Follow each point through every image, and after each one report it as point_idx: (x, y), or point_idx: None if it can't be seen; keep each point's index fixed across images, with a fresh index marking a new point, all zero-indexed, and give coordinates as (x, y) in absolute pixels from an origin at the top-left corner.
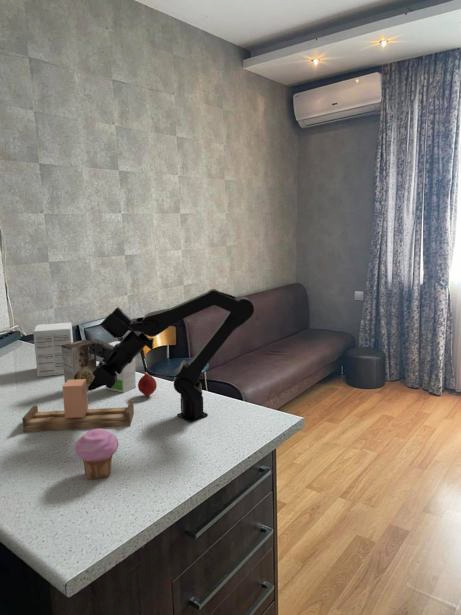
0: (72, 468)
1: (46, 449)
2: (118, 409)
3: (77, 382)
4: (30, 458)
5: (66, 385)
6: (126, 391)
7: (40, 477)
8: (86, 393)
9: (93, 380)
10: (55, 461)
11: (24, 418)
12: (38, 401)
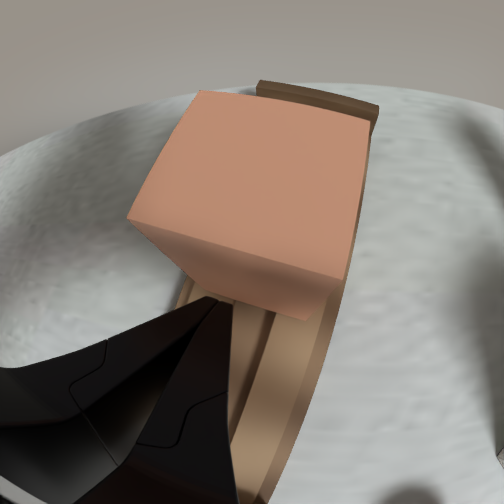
0: (8, 241)
1: (108, 178)
2: (243, 461)
3: (249, 184)
4: (90, 152)
5: (209, 109)
6: (501, 463)
7: (20, 185)
8: (300, 301)
9: (111, 343)
10: (45, 205)
11: (257, 84)
12: (495, 164)
